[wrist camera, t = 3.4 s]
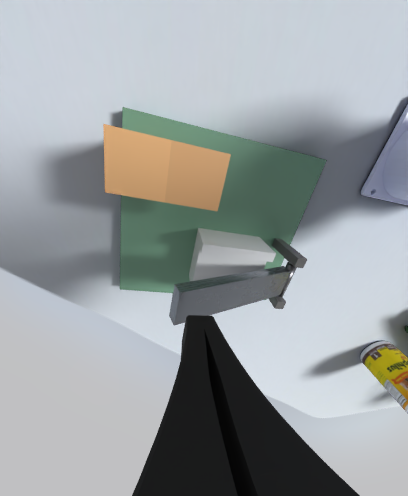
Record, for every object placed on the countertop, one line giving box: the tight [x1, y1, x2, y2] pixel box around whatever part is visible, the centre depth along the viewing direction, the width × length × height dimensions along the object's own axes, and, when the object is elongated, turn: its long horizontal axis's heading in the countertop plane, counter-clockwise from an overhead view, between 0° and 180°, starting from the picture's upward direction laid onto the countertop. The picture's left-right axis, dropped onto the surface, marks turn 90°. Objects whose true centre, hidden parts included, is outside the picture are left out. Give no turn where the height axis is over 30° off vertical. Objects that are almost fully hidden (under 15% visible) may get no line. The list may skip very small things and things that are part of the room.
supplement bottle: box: [360, 341, 408, 413], centre depth 27 cm, size 6×6×10 cm
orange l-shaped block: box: [104, 124, 231, 211], centre depth 12 cm, size 6×3×5 cm, turn 78°
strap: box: [169, 262, 297, 325], centre depth 14 cm, size 11×3×1 cm, turn 78°
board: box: [120, 107, 327, 309], centre depth 16 cm, size 16×15×5 cm
